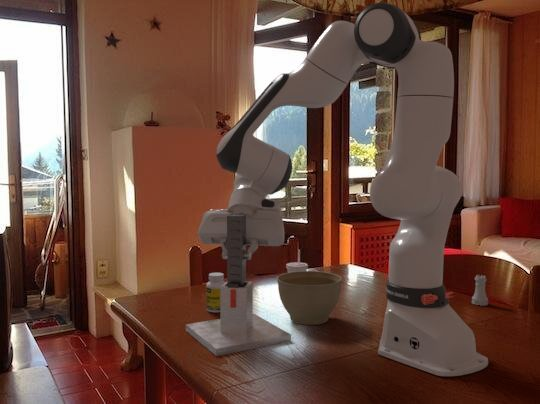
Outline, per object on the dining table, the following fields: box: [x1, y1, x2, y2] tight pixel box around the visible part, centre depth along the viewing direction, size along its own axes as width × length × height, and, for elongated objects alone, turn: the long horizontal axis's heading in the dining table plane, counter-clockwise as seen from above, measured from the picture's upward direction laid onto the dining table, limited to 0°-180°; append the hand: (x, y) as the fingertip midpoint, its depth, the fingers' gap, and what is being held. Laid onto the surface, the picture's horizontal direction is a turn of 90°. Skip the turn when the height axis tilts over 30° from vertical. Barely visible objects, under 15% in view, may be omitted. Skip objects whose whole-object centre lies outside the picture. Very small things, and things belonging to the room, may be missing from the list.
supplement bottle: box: [205, 272, 226, 313], centre depth 138 cm, size 5×5×10 cm
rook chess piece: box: [471, 274, 489, 307], centre depth 144 cm, size 4×4×8 cm
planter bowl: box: [276, 270, 343, 326], centre depth 130 cm, size 16×16×11 cm
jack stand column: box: [226, 214, 247, 287], centre depth 117 cm, size 4×4×24 cm
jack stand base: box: [185, 280, 292, 357], centre depth 117 cm, size 18×18×13 cm
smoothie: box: [285, 249, 309, 273], centre depth 151 cm, size 6×6×14 cm
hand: (236, 258), depth 116 cm, fingers closed on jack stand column, 3 cm apart
